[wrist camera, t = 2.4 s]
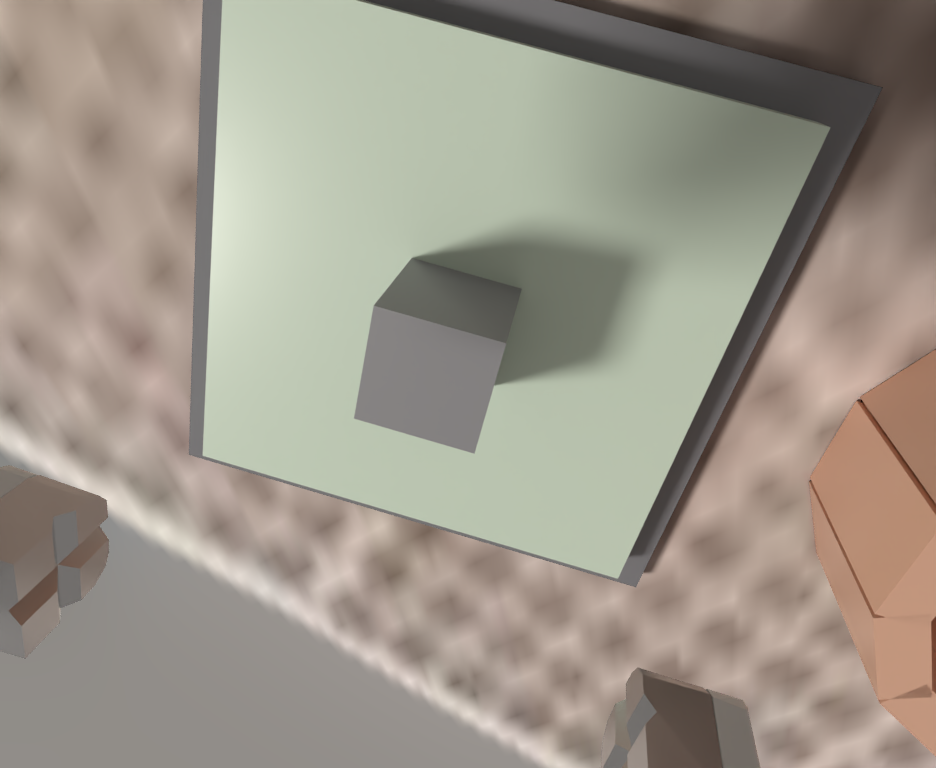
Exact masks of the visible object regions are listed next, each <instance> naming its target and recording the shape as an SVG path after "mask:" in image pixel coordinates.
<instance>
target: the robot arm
mask: <svg viewBox="0 0 936 768" xmlns="http://www.w3.org/2000/svg"><path fill="white" fill-rule="evenodd" d="M107 518H108V512H107V500H105V499H104V498H102V497H100V496H98V495H95V494H92V493H89V492H87V491H84V490H81V489H78V488H75V487H72V486H69V485H67V484H64V483H61V482H58V481H55V480H52V479H49V478H46V477H44V476H41V475H36V474H33V473H30V472H28V471H25V470H22V469H19V468H16V467H13V466H10V465H8V466H3V467H0V651H2V652H5V653H8V654H12V655H15V656H18V657H21V658H24V659H26V658H27V657H28V655H29V654H30V653H31V652H32V651H33V650H34V649H35V648H36V647H37V646H38V645H39V644H40V643H41V642H42V641H43V640H44V639H45V638H46V637H47V636H48V635H49V634H50V633H51V631H52V630H53V629H54V628H55V627H56V626H57V625H58V624H59V623H60V612H61V608H62V607H65V606H67V605H70V604H72V603H75V602H77V601H80V600H82V599H83V598H84V597H85V596H86V594H87V593H88V592H89V591H90V590H91V589H92V588H93V587H94V586H95V584H96V582H97V581H98V579H99V577H100V575H101V573H102V572H103V570H104V568H105V566H106V562H107V557H108V553H109V540H108V538H107V536H106V535H105V534H104V532H103V531H102V529H101V528H100V526H99V525H100V524H101V523H102V522H104V520H106V519H107ZM601 768H760V764H759V759H758V755H757V750H756V745H755V741H754V736H753V731H752V727H751V722H750V717H749V713H748V708H747V706H746V705H745V703H744V702H743V700H740V699H737V698H734V697H731V696H728V695H724V694H721V693H718V692H715V691H712V690H708V689H706V690H705V689H704V688H703V687H699V686H696V685H693V684H690V683H686V682H683V681H680V680H677V679H673V678H670V677H667V676H664V675H660V674H657V673H654V672H651V671H647V670H644V669H641V668H637V669H636V670H634V671H633V672H632V674H631V676H630V677H629V679H628V681H627V683H626V700H623V701H621V702H618V703H616V704H615V706H614V708H613V710H612V712H611V714H610V716H609V718H608V721H607V725H606V729H605V732H604V736H603V742H602V751H601Z"/></svg>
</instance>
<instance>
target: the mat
mask: <svg viewBox="0 0 936 768" xmlns="http://www.w3.org/2000/svg"><path fill="white" fill-rule="evenodd" d="M365 1H368V2H372V3H376V4H380V5H383V6H387V7H391V8H394V9H398V10H402V11H406V12H409V13H413V14H417V15H421V16H424V17H428V18H432V19H436V20H439V21H443V22H447V23H450V24H454V25H458V26H462V27H465V28H469V29H473V30H477V31H480V32H484V33H488V34H491V35H495V36H499V37H503V38H506V39H510V40H514V41H518V42H521V43H525V44H529V45H533V46H536V47H540V48H544V49H547V50H551V51H555V52H559V53H562V54H566V55H570V56H574V57H577V58H581V59H585V60H588V61H592V62H596V63H600V64H603V65H607V66H611V67H615V68H618V69H622V70H626V71H630V72H633V73H637V74H641V75H644V76H648V77H652V78H656V79H659V80H663V81H667V82H671V83H674V84H678V85H682V86H685V87H689V88H693V89H697V90H700V91H704V92H708V93H712V94H715V95H719V96H723V97H727V98H730V99H734V100H738V101H741V102H745V103H749V104H753V105H756V106H760V107H764V108H768V109H771V110H775V111H779V112H782V113H786V114H790V115H794V116H797V117H801V118H805V119H809V120H812V121H816V122H819V123H821V124H824V125H826V126H828V127H831V128H830V130H829V132H828V134H827V136H826V138H825V140H824V143H823V145H822V147H821V149H820V151H819V153H818V155H817V157H816V159H815V162H814V164H813V166H812V168H811V170H810V172H809V174H808V176H807V179H806V181H805V183H804V185H803V187H802V189H801V191H800V193H799V196H798V198H797V200H796V202H795V204H794V206H793V208H792V210H791V213H790V215H789V217H788V219H787V221H786V223H785V225H784V227H783V230H782V232H781V234H780V236H779V238H778V240H777V242H776V244H775V246H774V249H773V251H772V253H771V255H770V257H769V259H768V261H767V263H766V266H765V268H764V270H763V272H762V274H761V276H760V278H759V280H758V283H757V285H756V287H755V289H754V291H753V293H752V295H751V297H750V300H749V302H748V304H747V306H746V308H745V310H744V312H743V314H742V317H741V319H740V321H739V323H738V325H737V327H736V329H735V331H734V333H733V336H732V338H731V340H730V342H729V344H728V346H727V348H726V350H725V353H724V355H723V357H722V359H721V361H720V363H719V365H718V367H717V370H716V372H715V374H714V376H713V378H712V380H711V382H710V384H709V387H708V389H707V391H706V393H705V395H704V397H703V399H702V401H701V403H700V406H699V408H698V410H697V412H696V414H695V416H694V418H693V420H692V423H691V425H690V427H689V429H688V431H687V433H686V435H685V437H684V440H683V442H682V444H681V446H680V448H679V450H678V452H677V454H676V457H675V459H674V461H673V463H672V465H671V467H670V469H669V471H668V474H667V476H666V478H665V480H664V482H663V484H662V486H661V488H660V490H659V493H658V495H657V497H656V499H655V501H654V503H653V505H652V507H651V510H650V512H649V514H648V516H647V518H646V520H645V522H644V524H643V527H642V529H641V531H640V533H639V535H638V537H637V539H636V541H635V544H634V546H633V548H632V550H631V552H630V554H629V556H628V558H627V560H626V563H625V565H624V567H623V569H622V571H621V573H620V575H619V577H618V579H617V578H613V577H610V576H607V575H603V574H600V573H597V572H593V571H590V570H586V569H583V568H580V567H576V566H573V565H570V564H566V563H563V562H559V561H556V560H553V559H549V558H546V557H543V556H539V555H536V554H532V553H529V552H526V551H522V550H519V549H516V548H512V547H509V546H505V545H502V544H499V543H495V542H492V541H489V540H485V539H482V538H478V537H475V536H472V535H468V534H465V533H462V532H458V531H455V530H451V529H448V528H445V527H441V526H438V525H435V524H431V523H428V522H424V521H421V520H418V519H414V518H411V517H408V516H404V515H401V514H397V513H394V512H391V511H387V510H384V509H381V508H377V507H374V506H370V505H367V504H364V503H360V502H357V501H354V500H350V499H347V498H343V497H340V496H337V495H333V494H330V493H327V492H323V491H320V490H316V489H313V488H310V487H306V486H303V485H300V484H296V483H293V482H290V481H286V480H283V479H279V478H276V477H273V476H269V475H266V474H263V473H259V472H256V471H252V470H249V469H246V468H242V467H239V466H236V465H232V464H229V463H225V462H222V461H219V460H215V459H212V458H209V457H205V456H203V434H204V411H205V388H206V365H207V342H208V319H209V295H210V272H211V249H212V226H213V203H214V180H215V157H216V134H217V110H218V87H219V64H220V41H221V18H222V0H203V15H202V47H201V79H200V112H199V144H198V177H197V209H196V241H195V274H194V306H193V339H192V371H191V403H190V436H189V455H192V456H195V457H199V458H202V459H205V460H209V461H212V462H216V463H219V464H222V465H226V466H229V467H232V468H236V469H239V470H243V471H246V472H249V473H253V474H256V475H259V476H263V477H266V478H269V479H273V480H276V481H280V482H283V483H286V484H290V485H293V486H296V487H300V488H303V489H307V490H310V491H313V492H317V493H320V494H323V495H327V496H330V497H334V498H337V499H340V500H344V501H347V502H350V503H354V504H357V505H361V506H364V507H367V508H371V509H374V510H377V511H381V512H384V513H387V514H391V515H394V516H398V517H401V518H404V519H408V520H411V521H414V522H418V523H421V524H425V525H428V526H431V527H435V528H438V529H441V530H445V531H448V532H452V533H455V534H458V535H462V536H465V537H468V538H472V539H475V540H479V541H482V542H485V543H489V544H492V545H495V546H499V547H502V548H505V549H509V550H512V551H516V552H519V553H522V554H526V555H529V556H532V557H536V558H539V559H543V560H546V561H549V562H553V563H556V564H559V565H563V566H566V567H570V568H573V569H576V570H580V571H583V572H586V573H590V574H593V575H597V576H600V577H603V578H607V579H610V580H613V581H617V582H620V583H624V584H627V585H630V586H634V587H636V586H637V584H638V582H639V580H640V578H641V576H642V574H643V572H644V570H645V568H646V566H647V564H648V562H649V560H650V558H651V555H652V553H653V551H654V549H655V547H656V545H657V543H658V541H659V539H660V537H661V535H662V533H663V531H664V529H665V527H666V525H667V523H668V521H669V519H670V517H671V515H672V513H673V511H674V509H675V507H676V505H677V503H678V501H679V499H680V497H681V495H682V493H683V491H684V489H685V487H686V485H687V483H688V481H689V479H690V477H691V474H692V472H693V470H694V468H695V466H696V464H697V462H698V460H699V458H700V456H701V454H702V452H703V450H704V448H705V446H706V444H707V442H708V440H709V438H710V436H711V434H712V432H713V430H714V428H715V426H716V424H717V422H718V420H719V418H720V416H721V414H722V412H723V410H724V408H725V406H726V404H727V402H728V400H729V398H730V396H731V393H732V391H733V389H734V387H735V385H736V383H737V381H738V379H739V377H740V375H741V373H742V371H743V369H744V367H745V365H746V363H747V361H748V359H749V357H750V355H751V353H752V351H753V349H754V347H755V345H756V343H757V341H758V339H759V337H760V335H761V333H762V331H763V329H764V327H765V325H766V323H767V321H768V319H769V317H770V315H771V312H772V310H773V308H774V306H775V304H776V302H777V300H778V298H779V296H780V294H781V292H782V290H783V288H784V286H785V284H786V282H787V280H788V278H789V276H790V274H791V272H792V270H793V268H794V266H795V264H796V262H797V260H798V258H799V256H800V254H801V252H802V250H803V248H804V246H805V244H806V242H807V240H808V238H809V236H810V234H811V231H812V229H813V227H814V225H815V223H816V221H817V219H818V217H819V215H820V213H821V211H822V209H823V207H824V205H825V203H826V201H827V199H828V197H829V195H830V193H831V191H832V189H833V187H834V185H835V183H836V181H837V179H838V177H839V175H840V173H841V171H842V169H843V167H844V165H845V163H846V161H847V159H848V157H849V155H850V153H851V150H852V148H853V146H854V144H855V142H856V140H857V138H858V136H859V134H860V132H861V130H862V128H863V126H864V124H865V122H866V120H867V118H868V116H869V114H870V112H871V110H872V108H873V106H874V104H875V102H876V100H877V98H878V96H879V94H880V92H881V90H882V88H883V87H879V86H875V85H871V84H868V83H864V82H860V81H856V80H852V79H849V78H845V77H841V76H837V75H834V74H830V73H826V72H822V71H819V70H815V69H811V68H807V67H803V66H800V65H796V64H792V63H788V62H785V61H781V60H777V59H773V58H769V57H766V56H762V55H758V54H754V53H751V52H747V51H743V50H739V49H736V48H732V47H728V46H724V45H720V44H717V43H713V42H709V41H705V40H702V39H698V38H694V37H690V36H687V35H683V34H679V33H675V32H671V31H668V30H664V29H660V28H656V27H653V26H649V25H645V24H641V23H638V22H634V21H630V20H626V19H622V18H619V17H615V16H611V15H607V14H604V13H600V12H596V11H592V10H588V9H585V8H581V7H577V6H573V5H570V4H566V3H562V2H558V1H555V0H365Z"/></svg>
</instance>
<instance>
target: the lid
mask: <svg viewBox="0 0 936 768" xmlns="http://www.w3.org/2000/svg"><path fill="white" fill-rule="evenodd" d="M830 128H831V127H828V126H826V125H824V124H821V123H819V122H816V121H812V120H809V119H805V118H801V117H797V116H794V115H790V114H786V113H782V112H779V111H775V110H771V109H768V108H764V107H760V106H756V105H753V104H749V103H745V102H741V101H738V100H734V99H730V98H727V97H723V96H719V95H715V94H712V93H708V92H704V91H700V90H697V89H693V88H689V87H685V86H682V85H678V84H674V83H671V82H667V81H663V80H659V79H656V78H652V77H648V76H644V75H641V74H637V73H633V72H630V71H626V70H622V69H618V68H615V67H611V66H607V65H603V64H600V63H596V62H592V61H588V60H585V59H581V58H577V57H574V56H570V55H566V54H562V53H559V52H555V51H551V50H547V49H544V48H540V47H536V46H533V45H529V44H525V43H521V42H518V41H514V40H510V39H506V38H503V37H499V36H495V35H491V34H488V33H484V32H480V31H477V30H473V29H469V28H465V27H462V26H458V25H454V24H450V23H447V22H443V21H439V20H436V19H432V18H428V17H424V16H421V15H417V14H413V13H409V12H406V11H402V10H398V9H394V8H391V7H387V6H383V5H380V4H376V3H372V2H368V1H365V0H222V18H221V41H220V64H219V87H218V110H217V134H216V157H215V180H214V203H213V226H212V249H211V272H210V295H209V319H208V342H207V365H206V388H205V411H204V434H203V456H205V457H209V458H212V459H215V460H219V461H222V462H225V463H229V464H232V465H236V466H239V467H242V468H246V469H249V470H252V471H256V472H259V473H263V474H266V475H269V476H273V477H276V478H279V479H283V480H286V481H290V482H293V483H296V484H300V485H303V486H306V487H310V488H313V489H316V490H320V491H323V492H327V493H330V494H333V495H337V496H340V497H343V498H347V499H350V500H354V501H357V502H360V503H364V504H367V505H370V506H374V507H377V508H381V509H384V510H387V511H391V512H394V513H397V514H401V515H404V516H408V517H411V518H414V519H418V520H421V521H424V522H428V523H431V524H435V525H438V526H441V527H445V528H448V529H451V530H455V531H458V532H462V533H465V534H468V535H472V536H475V537H478V538H482V539H485V540H489V541H492V542H495V543H499V544H502V545H505V546H509V547H512V548H516V549H519V550H522V551H526V552H529V553H532V554H536V555H539V556H543V557H546V558H549V559H553V560H556V561H559V562H563V563H566V564H570V565H573V566H576V567H580V568H583V569H586V570H590V571H593V572H597V573H600V574H603V575H607V576H610V577H613V578H617V579H618V577H619V575H620V573H621V571H622V569H623V567H624V565H625V563H626V560H627V558H628V556H629V554H630V552H631V550H632V548H633V546H634V544H635V541H636V539H637V537H638V535H639V533H640V531H641V529H642V527H643V524H644V522H645V520H646V518H647V516H648V514H649V512H650V510H651V507H652V505H653V503H654V501H655V499H656V497H657V495H658V493H659V490H660V488H661V486H662V484H663V482H664V480H665V478H666V476H667V474H668V471H669V469H670V467H671V465H672V463H673V461H674V459H675V457H676V454H677V452H678V450H679V448H680V446H681V444H682V442H683V440H684V437H685V435H686V433H687V431H688V429H689V427H690V425H691V423H692V420H693V418H694V416H695V414H696V412H697V410H698V408H699V406H700V403H701V401H702V399H703V397H704V395H705V393H706V391H707V389H708V387H709V384H710V382H711V380H712V378H713V376H714V374H715V372H716V370H717V367H718V365H719V363H720V361H721V359H722V357H723V355H724V353H725V350H726V348H727V346H728V344H729V342H730V340H731V338H732V336H733V333H734V331H735V329H736V327H737V325H738V323H739V321H740V319H741V317H742V314H743V312H744V310H745V308H746V306H747V304H748V302H749V300H750V297H751V295H752V293H753V291H754V289H755V287H756V285H757V283H758V280H759V278H760V276H761V274H762V272H763V270H764V268H765V266H766V263H767V261H768V259H769V257H770V255H771V253H772V251H773V249H774V246H775V244H776V242H777V240H778V238H779V236H780V234H781V232H782V230H783V227H784V225H785V223H786V221H787V219H788V217H789V215H790V213H791V210H792V208H793V206H794V204H795V202H796V200H797V198H798V196H799V193H800V191H801V189H802V187H803V185H804V183H805V181H806V179H807V176H808V174H809V172H810V170H811V168H812V166H813V164H814V162H815V159H816V157H817V155H818V153H819V151H820V149H821V147H822V145H823V143H824V140H825V138H826V136H827V134H828V132H829V130H830Z"/></svg>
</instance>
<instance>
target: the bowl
mask: <svg viewBox="0 0 936 768" xmlns="http://www.w3.org/2000/svg"><path fill="white" fill-rule="evenodd" d="M860 398H861V399H862V401H863V403H862V402H859V401H856V402H855V404H854V405H853V407H852V409H851V410H850V412H849V414H848V415H847V417H846V419H845V420H844V422H843V424H842V425H841V427H840V429H839V430H838V432H837V433H836V435H835V437H834V438H833V440H832V442H831V443H830V445H829V447H828V448H827V450H826V452H825V453H824V455H823V457H822V458H821V460H820V462H819V463H818V465H817V467H816V468H815V470H814V472H813V473H812V475H811V477H810V479H811V481H809V486H810V496H811V506H812V515H813V525H814V535H815V545H816V553H817V555H818V557H819V560H820V562H821V564H822V567H823V569H824V572H825V574H826V576H827V579H828V581H829V584H830V586H831V588H832V591H833V593H834V596H835V598H836V600H837V603H838V605H839V607H840V610H841V612H842V615H843V617H844V619H845V622H846V624H847V627H848V629H849V631H850V634H851V636H852V639H853V641H854V643H855V646H856V648H857V651H858V653H859V655H860V658H861V660H862V662H863V665H864V667H865V670H866V672H867V674H868V677H869V679H870V682H871V684H872V686H873V689H874V691H875V694H876V696H877V698H878V700H879V702H880V704H881V705H882V706H883V707H884V708H885V709H886V710H887V711H888V712H889V713H891V714H892V715H893V716H894V717H895V718H896V719H897V720H898V721H899V722H900V723H901V724H902V725H903V726H904V727H905V728H906V729H907V730H908V731H909V732H910V733H912V734H913V735H914V736H915V737H916V738H917V739H918V740H919V741H920V742H921V743H922V744H923V745H924V746H925V747H926V748H927V749H928V750H929V751H930V752H932V753H933V754H934V755H935V756H936V350H934V351H932V352H931V353H929V354H928V355H926V356H924V357H923V358H921V359H920V360H918V361H917V362H915V363H913V364H912V365H910V366H909V367H907V368H905V369H904V370H902V371H901V372H899V373H897V374H896V375H894V376H893V377H891V378H890V379H888V380H886V381H885V382H883V383H882V384H880V385H878V386H877V387H875V388H874V389H872V390H870V391H869V392H867V393H866V394H864V395H862V396H861V397H860Z"/></svg>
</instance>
